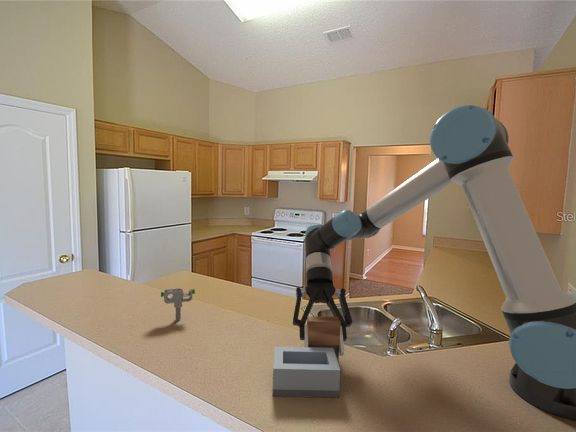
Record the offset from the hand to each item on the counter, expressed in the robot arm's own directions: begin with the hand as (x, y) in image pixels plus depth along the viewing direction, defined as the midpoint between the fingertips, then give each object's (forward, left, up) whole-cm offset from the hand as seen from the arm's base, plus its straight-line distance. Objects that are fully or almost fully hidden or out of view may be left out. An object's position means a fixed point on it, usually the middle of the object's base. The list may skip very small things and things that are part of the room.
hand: (324, 353), depth 74 cm
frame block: (-4, +7, -4) cm, 9 cm away
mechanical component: (+39, +33, -4) cm, 51 cm away
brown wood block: (+3, -1, -4) cm, 5 cm away
